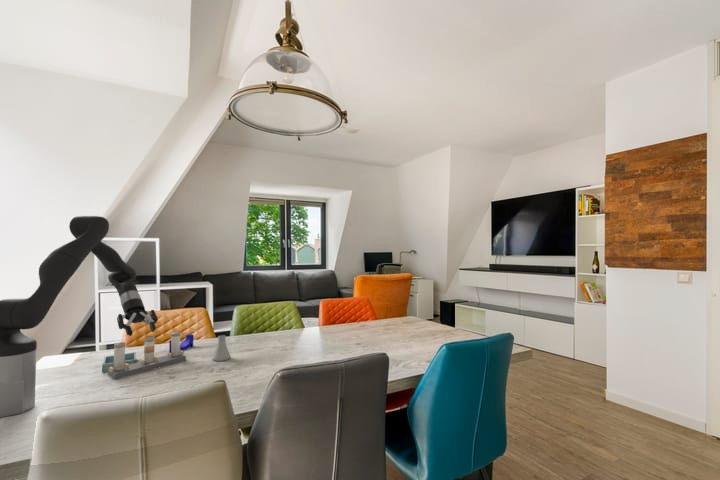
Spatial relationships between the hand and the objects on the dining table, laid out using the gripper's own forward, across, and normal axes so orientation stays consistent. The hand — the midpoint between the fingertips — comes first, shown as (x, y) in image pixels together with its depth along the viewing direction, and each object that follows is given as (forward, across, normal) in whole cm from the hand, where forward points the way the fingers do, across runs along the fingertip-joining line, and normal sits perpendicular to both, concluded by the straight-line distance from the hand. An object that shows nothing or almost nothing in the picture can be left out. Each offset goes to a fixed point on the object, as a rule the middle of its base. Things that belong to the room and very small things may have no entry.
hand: (142, 332), depth 141 cm
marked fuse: (+12, 0, +3) cm, 13 cm away
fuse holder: (+14, 0, +4) cm, 15 cm away
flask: (+24, +24, -6) cm, 34 cm away
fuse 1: (+12, -10, +3) cm, 17 cm away
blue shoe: (+4, +20, +15) cm, 25 cm away
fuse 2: (+12, +11, +3) cm, 17 cm away
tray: (+5, -6, +13) cm, 15 cm away
